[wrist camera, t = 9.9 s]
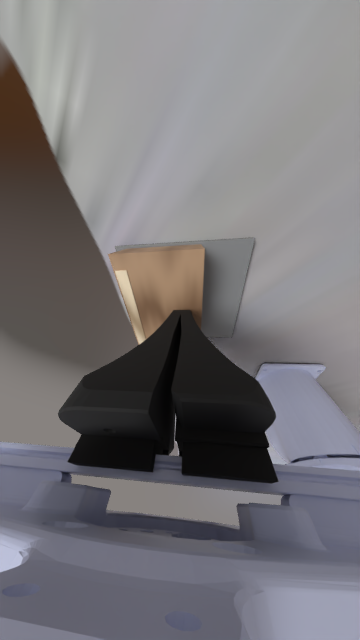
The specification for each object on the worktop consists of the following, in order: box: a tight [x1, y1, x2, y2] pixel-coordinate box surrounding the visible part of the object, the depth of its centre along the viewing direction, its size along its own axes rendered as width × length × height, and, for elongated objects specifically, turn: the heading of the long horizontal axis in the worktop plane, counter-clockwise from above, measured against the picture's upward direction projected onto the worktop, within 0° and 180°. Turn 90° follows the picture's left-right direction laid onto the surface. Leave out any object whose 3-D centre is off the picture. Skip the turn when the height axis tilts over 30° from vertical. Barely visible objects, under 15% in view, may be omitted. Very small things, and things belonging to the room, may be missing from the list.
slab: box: [108, 244, 205, 344], centre depth 12 cm, size 9×3×6 cm
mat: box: [115, 238, 255, 337], centre depth 13 cm, size 10×11×1 cm
